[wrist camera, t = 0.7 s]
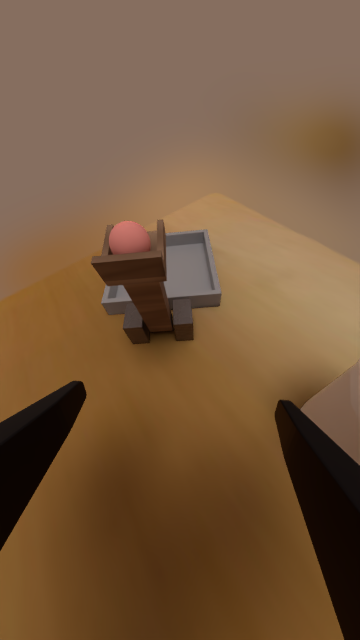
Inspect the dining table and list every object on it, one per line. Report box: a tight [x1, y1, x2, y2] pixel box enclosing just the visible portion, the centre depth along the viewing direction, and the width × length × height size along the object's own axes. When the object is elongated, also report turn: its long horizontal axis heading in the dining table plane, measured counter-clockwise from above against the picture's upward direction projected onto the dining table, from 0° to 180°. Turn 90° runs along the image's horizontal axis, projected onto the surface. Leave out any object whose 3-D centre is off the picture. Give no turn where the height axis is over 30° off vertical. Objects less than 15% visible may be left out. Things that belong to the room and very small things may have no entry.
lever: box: [91, 220, 173, 332], centre depth 20 cm, size 5×5×15 cm
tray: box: [101, 229, 221, 315], centre depth 33 cm, size 17×18×3 cm
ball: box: [109, 221, 151, 255], centre depth 14 cm, size 3×3×3 cm
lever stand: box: [123, 299, 193, 344], centre depth 25 cm, size 4×9×4 cm, turn 92°
